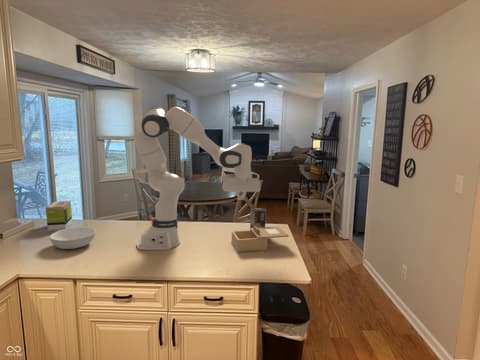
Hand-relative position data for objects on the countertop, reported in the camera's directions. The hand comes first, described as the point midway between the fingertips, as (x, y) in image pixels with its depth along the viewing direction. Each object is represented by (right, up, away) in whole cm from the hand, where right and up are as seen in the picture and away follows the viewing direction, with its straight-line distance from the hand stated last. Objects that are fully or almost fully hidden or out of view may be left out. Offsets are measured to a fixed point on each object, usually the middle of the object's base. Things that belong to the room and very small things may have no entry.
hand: (240, 199), depth 167 cm
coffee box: (+10, -23, +20) cm, 32 cm away
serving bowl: (-87, -24, -4) cm, 91 cm away
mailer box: (+4, -26, +1) cm, 26 cm away
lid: (+15, -18, +3) cm, 24 cm away
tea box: (-111, -19, +25) cm, 115 cm away
